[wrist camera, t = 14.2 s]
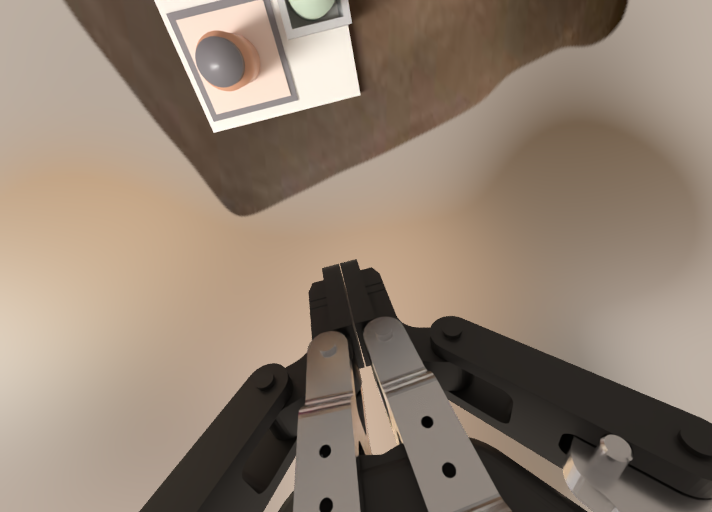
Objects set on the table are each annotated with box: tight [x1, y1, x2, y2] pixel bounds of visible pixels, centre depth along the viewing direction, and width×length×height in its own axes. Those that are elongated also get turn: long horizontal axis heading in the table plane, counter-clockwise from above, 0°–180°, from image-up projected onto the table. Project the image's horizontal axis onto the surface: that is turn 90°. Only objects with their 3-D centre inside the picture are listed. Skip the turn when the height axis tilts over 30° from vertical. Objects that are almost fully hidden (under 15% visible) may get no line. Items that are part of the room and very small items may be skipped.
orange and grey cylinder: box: [195, 30, 260, 91], centre depth 26 cm, size 4×4×8 cm
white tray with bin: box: [154, 0, 360, 133], centre depth 29 cm, size 16×12×4 cm
